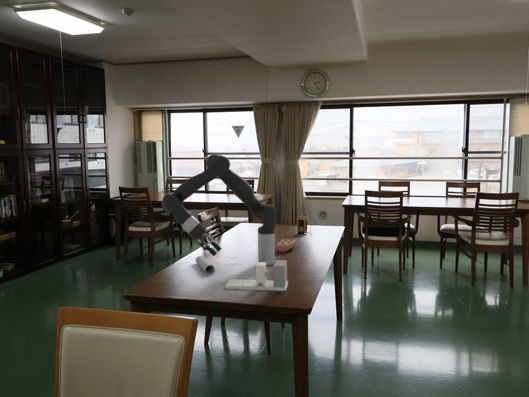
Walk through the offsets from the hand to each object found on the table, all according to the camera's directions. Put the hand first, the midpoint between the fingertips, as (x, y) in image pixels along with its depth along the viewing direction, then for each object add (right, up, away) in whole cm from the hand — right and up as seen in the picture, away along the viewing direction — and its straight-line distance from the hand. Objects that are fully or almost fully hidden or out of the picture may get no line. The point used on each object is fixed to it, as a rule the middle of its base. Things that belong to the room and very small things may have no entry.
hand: (217, 252), depth 208 cm
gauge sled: (+21, -14, -3) cm, 25 cm away
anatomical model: (+36, -7, +74) cm, 82 cm away
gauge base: (+18, -16, -1) cm, 24 cm away
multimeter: (+52, -1, +126) cm, 137 cm away
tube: (-11, -13, +31) cm, 35 cm away
